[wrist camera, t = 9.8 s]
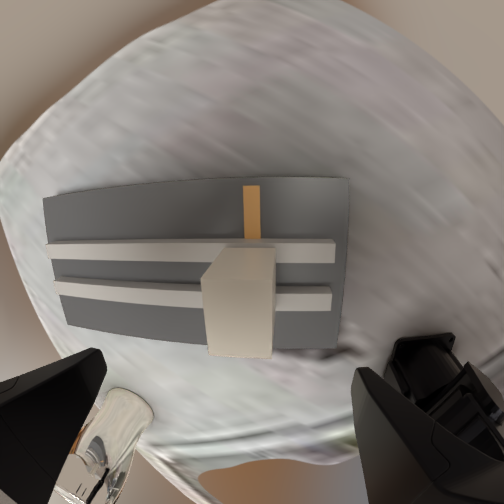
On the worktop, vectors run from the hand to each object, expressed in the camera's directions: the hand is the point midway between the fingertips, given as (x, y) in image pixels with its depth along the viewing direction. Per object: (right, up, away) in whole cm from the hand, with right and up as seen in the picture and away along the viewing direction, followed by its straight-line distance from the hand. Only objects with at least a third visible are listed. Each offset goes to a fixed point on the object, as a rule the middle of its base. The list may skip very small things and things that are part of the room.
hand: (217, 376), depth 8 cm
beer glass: (-13, -14, +18) cm, 27 cm away
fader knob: (+1, +3, +9) cm, 10 cm away
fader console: (-5, +3, +12) cm, 14 cm away
